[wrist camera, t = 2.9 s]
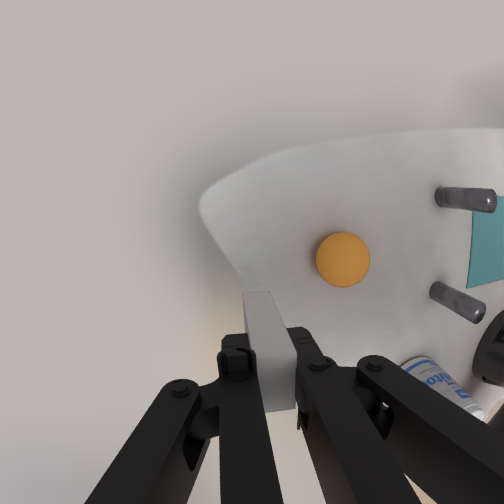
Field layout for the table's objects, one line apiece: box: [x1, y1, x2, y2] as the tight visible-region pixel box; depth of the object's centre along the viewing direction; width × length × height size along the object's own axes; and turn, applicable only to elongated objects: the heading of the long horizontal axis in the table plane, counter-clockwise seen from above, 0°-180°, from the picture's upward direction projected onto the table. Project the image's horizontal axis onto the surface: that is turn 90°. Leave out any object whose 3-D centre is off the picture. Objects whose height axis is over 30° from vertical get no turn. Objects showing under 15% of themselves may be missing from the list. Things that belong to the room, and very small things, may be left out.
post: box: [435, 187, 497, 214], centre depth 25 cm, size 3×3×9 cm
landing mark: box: [466, 196, 504, 288], centre depth 32 cm, size 14×14×1 cm
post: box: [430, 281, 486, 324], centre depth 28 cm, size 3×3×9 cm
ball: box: [316, 232, 370, 287], centre depth 27 cm, size 6×6×6 cm
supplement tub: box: [401, 357, 484, 421], centre depth 28 cm, size 10×10×15 cm
